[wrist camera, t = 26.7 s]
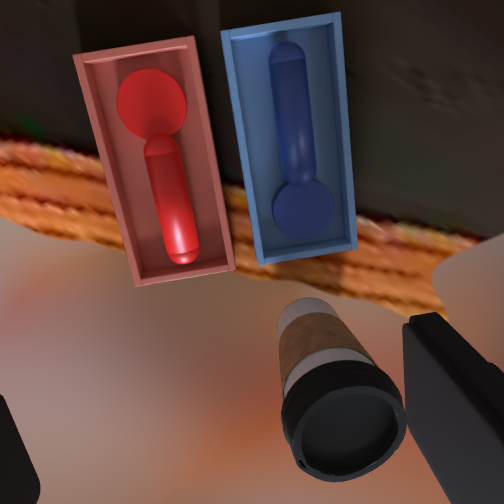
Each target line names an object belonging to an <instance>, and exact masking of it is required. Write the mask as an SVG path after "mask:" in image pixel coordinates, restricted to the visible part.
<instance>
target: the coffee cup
mask: <svg viewBox="0 0 504 504" xmlns="http://www.w3.org/2000/svg"><path fill="white" fill-rule="evenodd" d="M277 332H278V342H279V358H280V373H281V374H280V375H281V391H282V401H283V405H282V410H281V419H282V424H283V431H284V434H285V438H286V440H287V442H288V443H289V445H290V447H291V450H292V453H293V456H294V458H295V461H296V463H297V465H298V467H299V468H300V469H302V470H303V471H304V472H306V473H308V474H309V475H311V476H313V477H315V478H317V479H320V480H323V481H328V482H342V481H347V480H351V479H355V478H357V477H360V476H363V475H365V474H367V473H369V472H371V471H373V470H374V469H376V468H377V467H379V466H380V465H382V464H383V463H384V462H385V461H387V460H388V459H389V458H390V457H391V456H392V455H393V454H394V453H395V451H396V450H397V449H398V448H399V446H400V444H401V442H402V441H403V439H404V436H405V433H406V427H407V421H406V413H405V410H404V407H403V402H402V397H401V394H400V392H399V390H398V388H397V387H396V386H395V384H394V382H393V381H392V380H391V378H390V377H389V376H388V375H387V374H386V373H385V372H384V371H382V370H381V369H380V368H379V367H378V365H377V364H376V363H375V361H374V360H373V359H372V357H371V356H370V355H369V354H368V352H367V351H366V350H365V349H364V348H363V346H362V345H361V344H360V342H359V341H358V340H357V339H356V337H355V336H354V335H353V334H352V332H351V331H350V330H349V329H348V327H347V326H346V325H345V324H344V322H343V321H342V320H341V319H340V317H339V316H338V315H337V313H336V312H335V311H334V310H333V308H332V307H331V306H330V305H329V304H328V303H327V302H325V301H323V300H321V299H317V298H302V299H298V300H296V301H294V302H292V303H290V304H289V305H288V306H287V307H286V308H285V309H284V310H283V311H282V313H281V314H280V317H279V319H278V323H277Z"/></svg>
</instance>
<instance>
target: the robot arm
mask: <svg viewBox="0 0 504 504" xmlns="http://www.w3.org/2000/svg"><path fill="white" fill-rule="evenodd" d="M402 333H403V357H404V358H403V360H404V383H405V411H406V421H407V425H408V427H409V430H410V432H411V434H412V436H413V438H414V440H415V441H416V443H417V445H418V447H419V448H420V450H421V452H422V454H423V455H424V457H425V459H426V460H427V462H428V464H429V466H430V467H431V469H432V471H433V473H434V475H435V476H436V478H437V480H438V482H439V483H440V485H441V487H442V489H443V490H444V492H445V494H446V496H447V497H448V499H449V501H450V502H451V504H504V373H503V372H502V371H501V370H500V369H499V368H498V367H497V366H496V365H494V364H493V363H489V362H487V361H486V360H485V359H484V358H483V357H482V356H481V355H480V354H479V353H478V352H477V351H476V350H475V349H474V348H473V347H472V346H471V345H470V344H469V343H468V342H467V341H466V340H465V339H464V338H463V337H462V336H461V335H460V334H459V333H458V332H457V331H456V330H455V329H454V328H453V327H452V326H450V324H449V323H448V322H447V321H446V320H445V319H444V318H443V317H441V316H440V315H439V314H438V313H437V312H432V313H426V314H420V315H414V316H411V317H410V319H409V323H405V324H404V325H403V327H402ZM39 495H40V481H39V478H38V476H37V474H36V471H35V469H34V467H33V464H32V462H31V460H30V457H29V455H28V453H27V450H26V448H25V446H24V443H23V441H22V439H21V436H20V434H19V432H18V429H17V427H16V425H15V422H14V420H13V418H12V415H11V413H10V411H9V408H8V406H7V404H6V401H5V399H4V397H3V396H2V395H0V504H36V503H37V501H38V499H39Z"/></svg>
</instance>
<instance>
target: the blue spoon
mask: <svg viewBox="0 0 504 504" xmlns="http://www.w3.org/2000/svg"><path fill="white" fill-rule="evenodd" d="M268 67H269V74H270V82H271V90H272V97H273V105H274V113H275V120H276V128H277V136H278V143H279V151H280V159H281V166H282V172H283V176H284V178H285V179H286V182H285V183H283V184H282V185H281V186H280V187H279V188H278V189H277V191H276V192H275V195H274V197H273V200H272V207H271V208H272V215H273V218H274V220H275V222H276V224H277V226H278V228H279V229H280V230H281V231H282V232H283V233H284V234H285V235H287V236H289V237H291V238H294V239H299V240H305V239H310V238H313V237H316V236H318V235H319V234H321V233H322V232H323V231H325V230H326V229H327V227H328V226H329V225H330V223H331V221H332V219H333V216H334V211H335V204H334V199H333V197H332V194H331V193H330V191H329V190H328V189H327V187H325V186H324V185H323V184H322V183H321V182H319V181H318V180H316V179H314V177H315V175H316V171H317V164H316V154H315V145H314V135H313V125H312V115H311V106H310V96H309V86H308V76H307V67H306V57H305V54H304V51H303V50H302V48H301V47H300V46H299V45H298V44H296V43H294V42H291V41H284V42H281V43H279V44H277V45H276V46H275V47H274V48H273V49H272V51H271V52H270V55H269V59H268Z"/></svg>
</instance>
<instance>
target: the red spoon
mask: <svg viewBox="0 0 504 504" xmlns="http://www.w3.org/2000/svg"><path fill="white" fill-rule="evenodd" d="M116 104H117V111H118V114H119V117H120V119H121V121H122V123H123V124H124V125H125V127H126V128H127V129H128V130H129V131H130V132H131V133H133V134H134V135H136V136H137V137H139V138H142V139H145V140H147V141H146V143H145V145H144V149H143V153H144V158H145V162H146V167H147V171H148V175H149V179H150V183H151V188H152V192H153V196H154V200H155V205H156V209H157V213H158V217H159V221H160V226H161V230H162V234H163V238H164V242H165V247H166V251H167V254H168V256H169V257H170V259H171V260H173V261H174V262H176V263H178V264H188V263H190V262H192V261H194V260H195V259H196V257H197V256H198V254H199V250H200V245H199V240H198V235H197V230H196V225H195V221H194V216H193V211H192V206H191V201H190V197H189V192H188V187H187V182H186V177H185V173H184V168H183V163H182V158H181V153H180V149H179V146H178V144H177V142H176V141H175V140H174V139H173V138H172V137H171V136H172V135H173V134H174V133H176V132H177V131H178V130H179V129H180V128H181V126H182V125H183V123H184V121H185V118H186V115H187V99H186V95H185V93H184V90H183V88H182V87H181V85H180V84H179V83H178V81H177V80H176V79H175V78H173V77H172V76H171V75H169V74H168V73H166V72H164V71H161V70H158V69H154V68H143V69H139V70H136V71H134V72H132V73H131V74H129V75H128V76H127V77H126V78H125V79H124V80H123V82H122V83H121V85H120V87H119V89H118V93H117V99H116Z"/></svg>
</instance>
